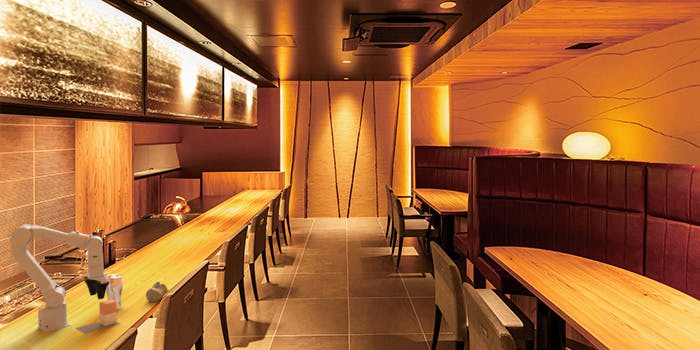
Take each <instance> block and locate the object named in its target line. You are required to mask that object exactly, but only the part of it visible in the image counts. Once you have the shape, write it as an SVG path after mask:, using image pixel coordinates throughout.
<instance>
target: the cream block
mask: <svg viewBox="0 0 700 350" xmlns="http://www.w3.org/2000/svg"><path fill="white" fill-rule="evenodd" d="M99 322H100V324H102V325H103V326H107V325H110V324H114V323H117V322H118V313H117V311H116V312H115V313H111V314H108V315H102V314H100V313H99Z"/></svg>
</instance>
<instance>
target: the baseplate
mask: <svg viewBox="0 0 700 350" xmlns="http://www.w3.org/2000/svg"><path fill="white" fill-rule="evenodd" d="M119 325H121V323H120V322H118V321H117V323H114V324H110V325H107V326H103V325H102V324H100V321H96V322H93V323H90V324H86V325H82V326H78V327H76V328H75V329H76V330H78V331H79V332H80V333H82V334H84V335H86V334H91V333H94V332H99V331H101V330H104V329H108V328H111V327H115V326H119Z"/></svg>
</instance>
